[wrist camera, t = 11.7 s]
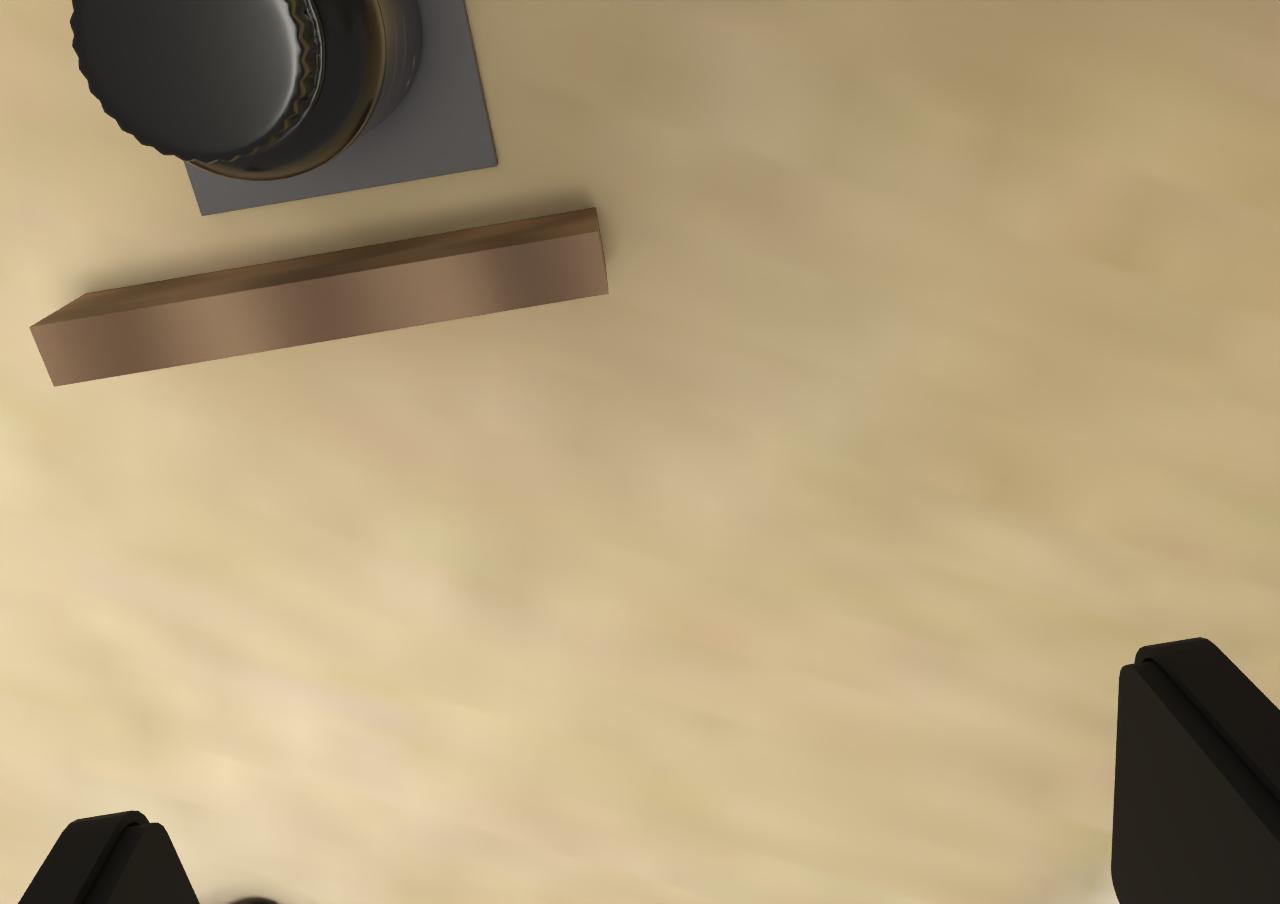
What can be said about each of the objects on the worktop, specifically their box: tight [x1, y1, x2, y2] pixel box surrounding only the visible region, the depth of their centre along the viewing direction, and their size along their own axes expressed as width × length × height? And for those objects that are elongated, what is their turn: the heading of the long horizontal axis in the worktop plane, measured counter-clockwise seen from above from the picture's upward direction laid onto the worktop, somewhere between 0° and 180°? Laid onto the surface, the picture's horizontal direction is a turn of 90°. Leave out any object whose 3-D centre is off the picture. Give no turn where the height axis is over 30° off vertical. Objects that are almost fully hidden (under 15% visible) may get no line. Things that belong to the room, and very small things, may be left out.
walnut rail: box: [29, 208, 609, 387], centre depth 34 cm, size 18×2×4 cm, turn 99°
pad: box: [184, 0, 498, 216], centre depth 32 cm, size 10×10×1 cm
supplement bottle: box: [70, 0, 422, 181], centre depth 27 cm, size 7×7×12 cm
